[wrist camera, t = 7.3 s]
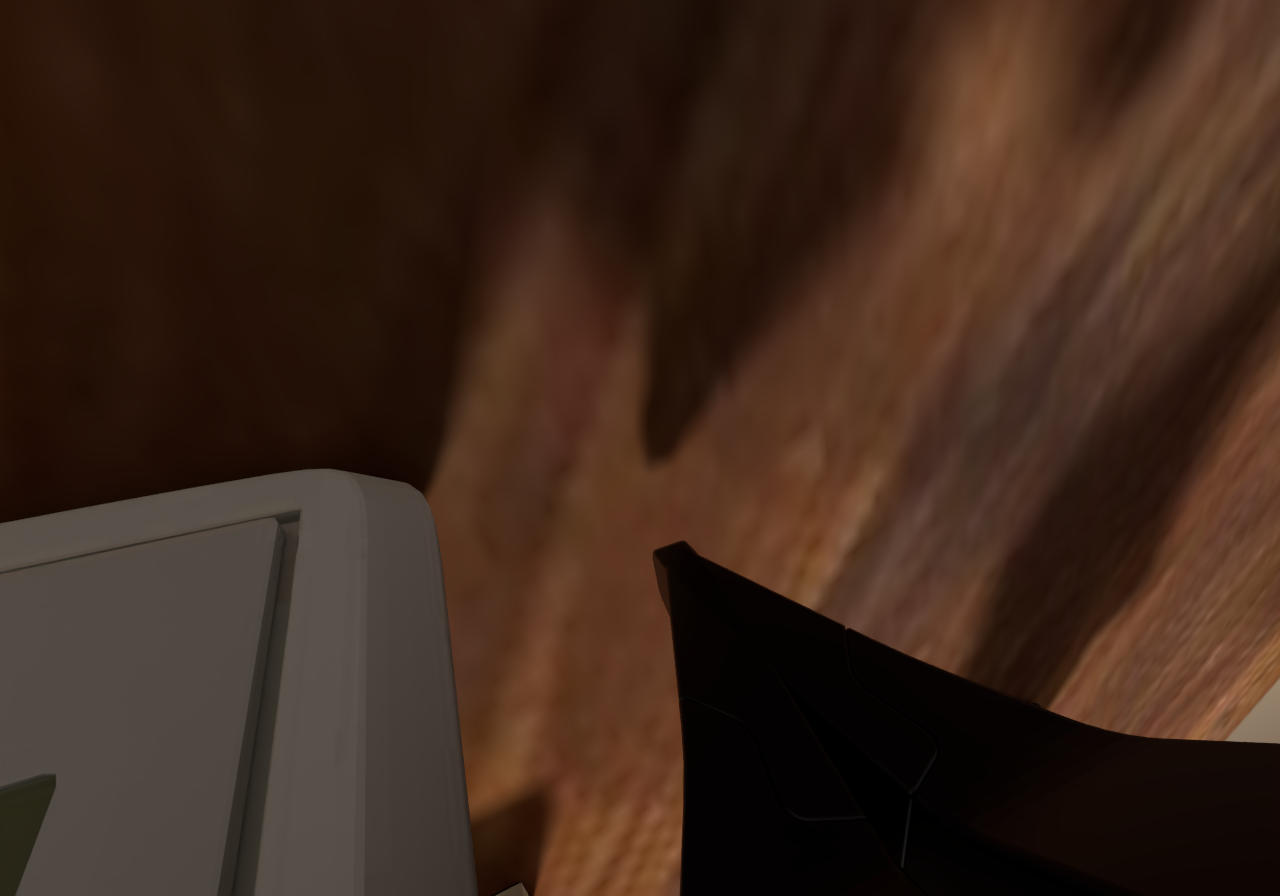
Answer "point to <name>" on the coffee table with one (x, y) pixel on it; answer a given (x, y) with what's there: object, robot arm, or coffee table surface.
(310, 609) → the digital clock
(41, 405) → the coffee table surface
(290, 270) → the coffee table surface
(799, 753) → the robot arm
